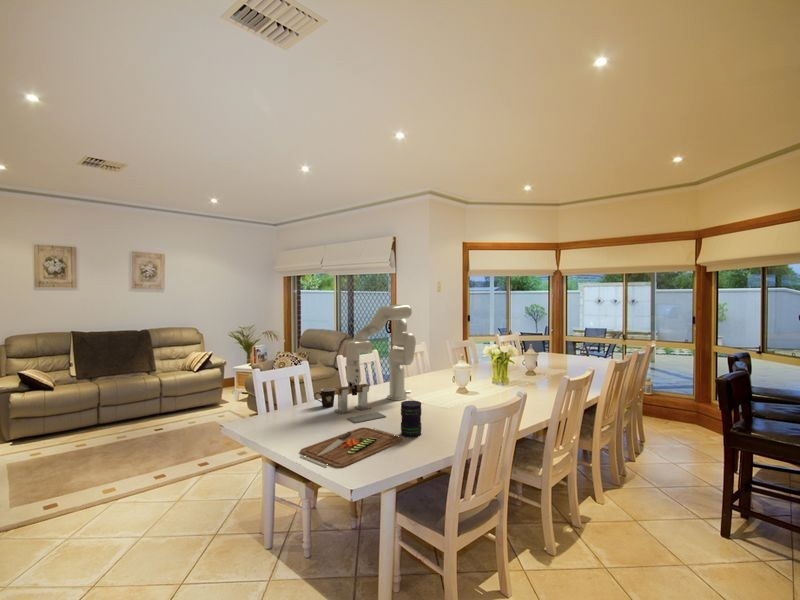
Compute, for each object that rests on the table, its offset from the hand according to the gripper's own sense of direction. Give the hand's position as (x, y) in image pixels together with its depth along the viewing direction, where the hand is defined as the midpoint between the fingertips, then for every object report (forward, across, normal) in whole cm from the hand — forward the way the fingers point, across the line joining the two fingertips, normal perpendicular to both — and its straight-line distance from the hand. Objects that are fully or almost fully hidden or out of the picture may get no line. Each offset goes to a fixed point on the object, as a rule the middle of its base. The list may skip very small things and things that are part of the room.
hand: (352, 394), depth 236 cm
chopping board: (+10, -50, +26) cm, 57 cm away
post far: (+9, 0, -6) cm, 11 cm away
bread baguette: (-1, 0, 0) cm, 1 cm away
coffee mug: (+9, +16, +10) cm, 21 cm away
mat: (+9, -18, +1) cm, 20 cm away
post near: (+9, 0, +6) cm, 11 cm away
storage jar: (+9, -52, -4) cm, 53 cm away
